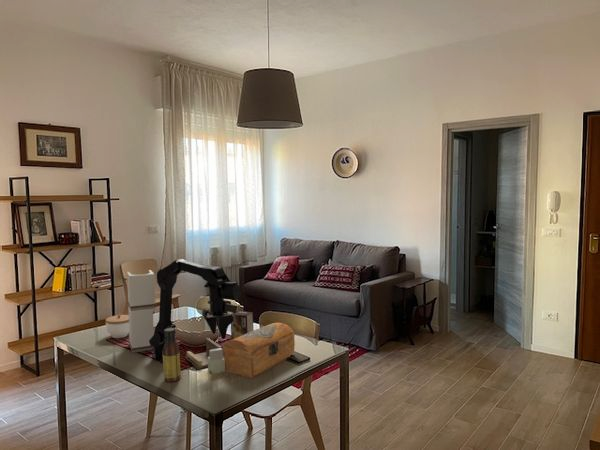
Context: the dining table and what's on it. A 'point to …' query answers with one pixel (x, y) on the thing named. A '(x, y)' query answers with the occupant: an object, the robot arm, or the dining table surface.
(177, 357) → the sauce bottle
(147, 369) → the dining table surface
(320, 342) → the dining table surface
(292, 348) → the wooden box
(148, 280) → the stacked white boxes
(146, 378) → the dining table surface
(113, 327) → the lidded bowl
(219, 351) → the cabinet block
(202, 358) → the cleat board
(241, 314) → the coffee box
